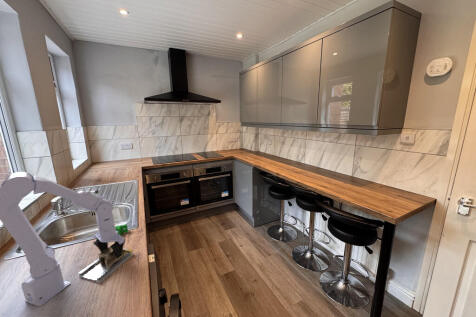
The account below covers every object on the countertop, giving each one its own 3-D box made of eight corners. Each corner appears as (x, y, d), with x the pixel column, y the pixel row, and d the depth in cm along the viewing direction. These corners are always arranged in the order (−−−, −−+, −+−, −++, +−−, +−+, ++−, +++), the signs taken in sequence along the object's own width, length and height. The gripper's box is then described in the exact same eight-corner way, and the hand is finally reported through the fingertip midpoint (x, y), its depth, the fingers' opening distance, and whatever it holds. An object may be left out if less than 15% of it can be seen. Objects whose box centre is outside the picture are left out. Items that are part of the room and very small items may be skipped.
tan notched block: (117, 252, 87) (115, 242, 86) (124, 253, 86) (122, 243, 85) (100, 265, 80) (98, 254, 79) (107, 266, 79) (105, 256, 78)
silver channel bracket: (99, 283, 72) (98, 277, 71) (78, 277, 75) (77, 271, 75) (133, 254, 87) (132, 249, 86) (114, 250, 90) (113, 245, 90)
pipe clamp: (102, 240, 99) (100, 232, 98) (104, 236, 102) (102, 228, 101) (127, 235, 102) (125, 227, 101) (128, 231, 106) (126, 223, 105)
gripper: (128, 223, 82) (132, 251, 84) (102, 219, 86) (107, 246, 88) (113, 233, 75) (119, 263, 78) (86, 228, 79) (92, 257, 82)
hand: (112, 255), depth 83 cm, fingers open, 7 cm apart
